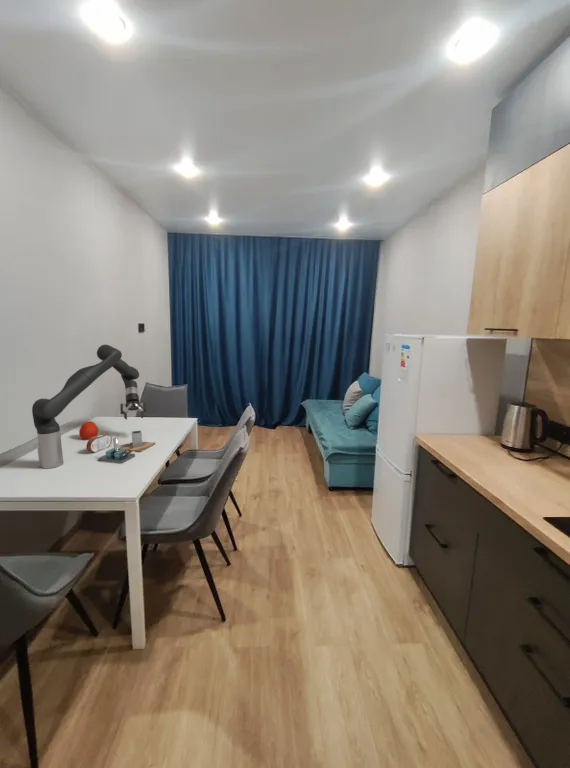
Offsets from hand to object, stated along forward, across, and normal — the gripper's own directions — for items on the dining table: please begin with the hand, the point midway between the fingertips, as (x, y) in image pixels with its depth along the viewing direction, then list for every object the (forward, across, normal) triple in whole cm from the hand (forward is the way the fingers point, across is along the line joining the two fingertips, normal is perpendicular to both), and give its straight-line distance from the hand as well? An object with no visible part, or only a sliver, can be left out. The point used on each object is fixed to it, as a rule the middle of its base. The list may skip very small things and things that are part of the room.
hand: (134, 418), depth 206 cm
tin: (+16, -18, +5) cm, 25 cm away
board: (+18, 0, +2) cm, 18 cm away
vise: (+29, -10, -8) cm, 32 cm away
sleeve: (+18, 0, +1) cm, 18 cm away
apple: (-3, -25, +24) cm, 35 cm away
